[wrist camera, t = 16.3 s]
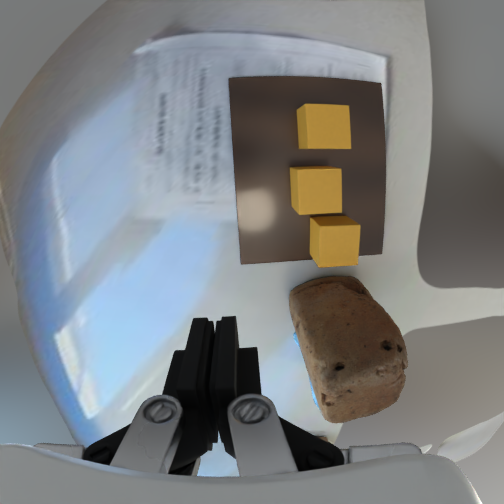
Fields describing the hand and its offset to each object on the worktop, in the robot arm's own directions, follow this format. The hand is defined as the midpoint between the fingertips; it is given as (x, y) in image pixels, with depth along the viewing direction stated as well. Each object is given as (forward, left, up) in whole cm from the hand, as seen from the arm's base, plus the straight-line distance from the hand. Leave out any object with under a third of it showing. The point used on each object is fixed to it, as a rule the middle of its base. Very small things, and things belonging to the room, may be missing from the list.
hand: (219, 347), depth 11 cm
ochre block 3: (+4, +12, -27) cm, 30 cm away
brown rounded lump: (+13, +12, -27) cm, 33 cm away
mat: (-5, +10, -27) cm, 29 cm away
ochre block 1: (-10, +11, -27) cm, 31 cm away
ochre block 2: (-3, +10, -27) cm, 29 cm away
